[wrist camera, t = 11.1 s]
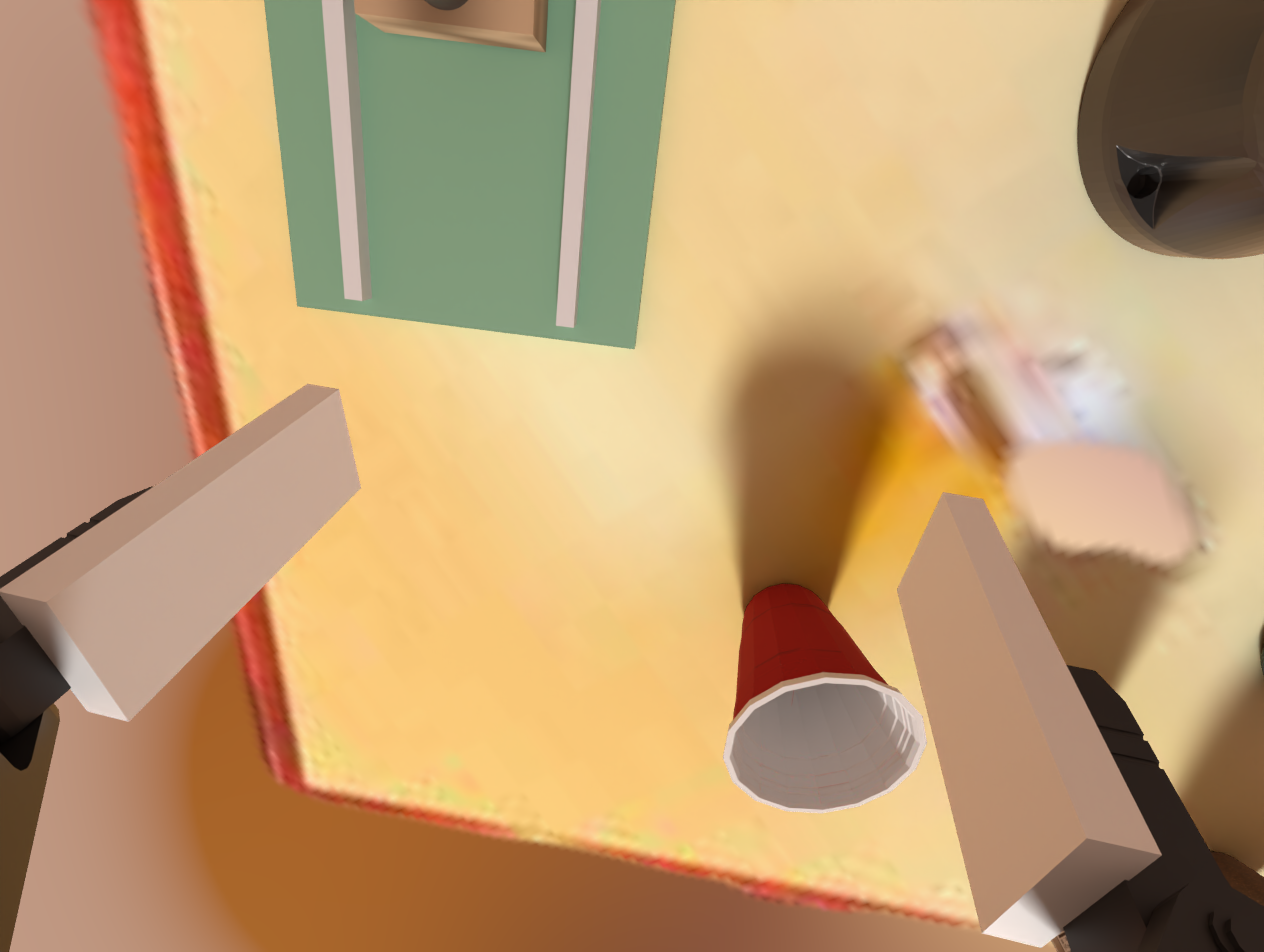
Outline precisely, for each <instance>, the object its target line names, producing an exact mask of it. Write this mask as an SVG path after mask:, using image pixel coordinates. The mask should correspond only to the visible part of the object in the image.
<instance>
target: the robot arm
mask: <svg viewBox="0 0 1264 952" xmlns="http://www.w3.org/2000/svg"><path fill="white" fill-rule="evenodd" d="M1078 155H1079V164H1080V170H1081V175H1082V178H1083V182H1084V185H1085V188H1086V191H1087V194H1088V196H1089V198H1090V200H1091V202H1092V204H1093V206H1094V207H1095V209H1096V211H1097V212H1098V214H1099V215H1100V216H1101V218H1102V219H1103V220H1104V221H1105V223H1106V224H1107V225H1108V226H1109V227H1110V228H1111V229H1112V230H1113V231H1114V232H1116V233H1117V234H1118V235H1119V236H1121V237H1122V238H1123V239H1125V240H1127V241H1128V242H1130V243H1132V244H1133V245H1136V246H1138V247H1140V248H1142V249H1145V250H1148V251H1150V252H1154V253H1158V254H1162V255H1168V256H1176V257H1189V258H1204V259H1229V258H1240V257H1247V256H1254V255H1259V254H1264V0H1129V2H1128V3H1127V5H1126V6H1125V8H1124V9H1123V10H1122V12H1121V13H1120V15H1119V16H1118V18H1117V20H1116V21H1115V23H1114V25H1113V26H1112V28H1111V30H1110V31H1109V33H1108V35H1107V37H1106V39H1105V41H1104V43H1103V45H1102V47H1101V49H1100V51H1099V53H1098V56H1097V58H1096V60H1095V63H1094V65H1093V68H1092V70H1091V73H1090V76H1089V79H1088V82H1087V85H1086V89H1085V93H1084V97H1083V101H1082V106H1081V111H1080V118H1079V127H1078ZM360 488H361V486H360V482H359V477H358V473H357V468H356V464H355V459H354V455H353V450H352V446H351V441H350V437H349V432H348V428H347V423H346V419H345V414H344V410H343V405H342V401H341V396H340V392H339V389H335V388H329V387H323V386H317V385H311V384H307V385H305V386H304V387H302V388H301V389H299V390H298V391H296V392H295V393H293V394H292V395H290V396H289V397H287V398H286V399H284V400H283V401H281V402H280V403H278V404H277V405H275V406H274V407H272V408H271V409H269V410H268V411H266V412H265V413H263V414H262V415H260V416H259V417H257V418H256V419H254V420H253V421H251V422H250V423H248V424H247V425H245V426H244V427H242V428H241V429H239V430H238V431H236V432H235V433H233V434H232V435H230V436H229V437H227V438H226V439H224V440H223V441H221V442H220V443H218V444H217V445H215V446H214V447H212V448H211V449H209V450H208V451H206V452H205V453H203V454H202V455H200V456H199V457H197V458H196V459H194V460H193V461H191V462H190V463H188V464H187V465H185V466H184V467H182V468H181V469H179V470H178V471H176V472H175V473H174V474H172V475H170V476H169V477H167V478H166V479H165V480H163V481H161V482H160V483H158V484H157V485H155V486H154V487H149V488H147V489H144V490H142V491H139V492H137V493H134V494H132V495H130V496H127V497H125V498H122V499H120V500H118V501H116V502H115V503H113V504H111V505H110V506H108V507H107V508H105V509H104V510H102V511H101V512H99V513H98V514H96V515H95V516H93V517H91V518H90V522H89V523H86V522H84V523H82V524H81V525H79V526H78V527H76V528H75V529H73V530H72V531H70V532H68V533H67V537H66V538H59V539H58V540H56V541H55V542H53V543H52V544H50V545H49V546H47V547H45V548H44V549H42V550H41V551H39V552H38V553H36V554H35V555H33V556H32V557H30V558H29V559H27V560H25V561H24V562H22V563H21V564H19V565H18V566H16V567H15V568H13V569H12V570H10V571H9V572H7V573H6V574H4V575H2V576H1V577H0V952H9V949H10V945H11V940H12V936H13V931H14V927H15V922H16V918H17V913H18V909H19V904H20V899H21V895H22V890H23V886H24V881H25V877H26V872H27V868H28V863H29V859H30V854H31V849H32V845H33V840H34V836H35V831H36V827H37V822H38V817H39V813H40V808H41V803H42V799H43V794H44V790H45V785H46V781H47V777H48V771H49V767H50V763H51V758H52V754H53V749H54V745H55V739H56V735H57V731H58V726H59V722H60V718H59V710H58V709H57V707H56V706H55V705H54V702H55V701H56V700H57V699H59V698H60V697H61V696H62V695H63V694H64V693H66V692H67V691H68V690H69V689H71V690H72V692H73V693H74V694H75V696H76V697H77V698H78V700H79V701H80V703H81V704H82V705H83V707H84V708H85V709H86V710H87V711H88V712H92V713H96V714H100V715H104V716H108V717H112V718H116V719H120V720H124V721H128V722H129V721H130V720H131V719H132V718H133V717H134V716H135V715H136V714H137V713H138V712H139V711H140V710H141V709H142V708H143V707H144V706H145V705H146V704H147V703H148V702H149V701H150V700H151V699H152V698H153V697H154V696H155V695H156V694H157V693H158V692H159V691H160V690H161V689H162V688H163V687H164V686H165V685H166V684H167V683H168V682H169V681H170V680H171V679H172V678H173V677H174V676H175V675H176V673H178V672H179V671H180V670H181V669H182V668H183V667H184V666H185V665H186V664H187V663H188V662H189V661H190V660H191V659H192V658H193V657H194V655H196V654H197V653H198V652H199V651H200V650H201V649H202V648H203V647H204V646H205V645H206V644H207V643H208V642H209V640H210V639H211V638H212V637H213V636H214V635H215V634H216V633H217V632H218V631H219V630H220V629H221V628H222V627H223V626H224V625H225V624H226V623H227V622H228V621H229V620H230V619H231V618H232V617H233V616H234V615H235V614H236V613H237V612H238V611H239V610H240V609H241V608H242V607H243V606H244V605H245V604H246V603H247V602H248V601H249V600H250V599H251V598H252V597H253V596H254V595H255V594H256V593H257V592H258V591H259V590H260V589H261V588H262V587H263V586H264V585H265V584H266V583H267V582H268V581H269V580H270V579H271V578H272V577H273V576H274V575H275V574H276V573H277V572H278V571H279V570H280V569H281V568H282V567H283V566H284V565H285V564H286V563H287V562H288V561H289V560H290V559H291V558H292V557H293V556H294V555H295V554H296V553H297V552H298V551H299V550H300V549H301V548H302V547H303V546H304V545H305V544H306V543H307V542H308V541H309V540H310V539H311V538H312V537H313V536H314V535H315V534H316V533H317V532H318V531H319V530H320V529H321V528H322V527H323V526H324V525H325V524H326V523H327V522H328V521H329V520H330V519H331V518H332V517H333V516H334V515H335V514H336V513H337V512H338V511H339V509H340V508H341V507H342V506H343V505H344V504H345V503H346V502H347V501H348V500H349V499H350V498H351V497H352V496H353V495H354V494H355V493H356V492H357V491H358V490H359V489H360ZM897 592H898V596H899V600H900V604H901V608H902V612H903V616H904V620H905V624H906V628H907V632H908V636H909V640H910V644H911V648H912V652H913V656H914V660H915V665H916V669H917V673H918V677H919V681H920V685H921V689H922V693H923V697H924V701H925V705H926V709H927V713H928V717H929V721H930V725H931V729H932V733H933V737H934V741H935V745H936V749H937V753H938V758H939V762H940V766H941V770H942V774H943V778H944V782H945V786H946V790H947V794H948V798H949V802H950V806H951V810H952V814H953V818H954V822H955V826H956V830H957V834H958V838H959V842H960V846H961V850H962V855H963V859H964V863H965V867H966V871H967V875H968V879H969V883H970V887H971V891H972V895H973V899H974V903H975V907H976V911H977V915H978V919H979V923H980V927H981V931H982V933H984V934H988V935H992V936H996V937H1000V938H1004V939H1008V940H1012V941H1016V942H1020V943H1024V944H1028V945H1032V946H1036V947H1040V948H1042V947H1043V946H1044V945H1046V944H1047V943H1048V942H1049V941H1051V940H1052V939H1053V938H1055V937H1056V936H1057V935H1059V934H1060V933H1061V932H1062V931H1064V932H1065V935H1066V938H1067V941H1068V944H1069V947H1070V950H1071V952H1264V906H1262V905H1261V904H1259V903H1257V902H1256V901H1254V900H1252V899H1251V898H1249V897H1247V896H1246V895H1244V894H1242V893H1241V892H1239V891H1237V890H1236V889H1233V888H1232V887H1231V886H1230V884H1229V883H1228V881H1227V880H1226V878H1225V877H1224V875H1223V873H1222V872H1221V870H1220V868H1219V866H1218V865H1217V863H1216V861H1215V859H1214V857H1213V856H1212V854H1211V852H1210V850H1209V849H1208V847H1207V845H1206V843H1205V842H1204V840H1203V838H1202V836H1201V835H1200V833H1199V831H1198V829H1197V828H1196V826H1195V824H1194V822H1193V820H1192V819H1191V817H1190V815H1189V813H1188V812H1187V810H1186V808H1185V806H1184V805H1183V803H1182V801H1181V799H1180V798H1179V796H1178V794H1177V792H1176V791H1175V789H1174V787H1173V785H1172V783H1171V782H1170V780H1169V778H1168V776H1167V775H1166V773H1165V771H1164V769H1160V768H1159V761H1158V759H1157V757H1156V755H1155V754H1154V752H1153V750H1152V748H1151V746H1150V745H1149V743H1148V741H1144V740H1143V735H1144V734H1143V732H1142V731H1141V729H1140V727H1139V725H1138V724H1137V722H1136V720H1135V718H1134V717H1133V715H1132V713H1131V711H1130V709H1129V708H1128V706H1127V704H1126V702H1125V701H1124V700H1123V699H1122V698H1121V697H1120V696H1119V695H1118V694H1117V693H1116V692H1115V691H1114V690H1113V689H1112V688H1111V687H1110V686H1109V685H1108V684H1107V683H1106V681H1105V680H1104V679H1103V678H1102V677H1101V676H1100V675H1099V674H1098V673H1097V672H1096V671H1093V670H1088V669H1083V668H1078V667H1073V666H1068V665H1066V663H1065V661H1064V659H1063V657H1062V655H1061V653H1060V651H1059V649H1058V647H1057V645H1056V643H1055V641H1054V640H1053V638H1052V636H1051V634H1050V632H1049V630H1048V628H1047V626H1046V624H1045V622H1044V620H1043V618H1042V616H1041V614H1040V612H1039V610H1038V608H1037V606H1036V604H1035V602H1034V600H1033V598H1032V596H1031V594H1030V592H1029V590H1028V588H1027V586H1026V584H1025V582H1024V580H1023V578H1022V576H1021V574H1020V572H1019V570H1018V568H1017V566H1016V564H1015V562H1014V560H1013V558H1012V556H1011V554H1010V552H1009V550H1008V548H1007V546H1006V544H1005V542H1004V540H1003V538H1002V536H1001V534H1000V532H999V530H998V528H997V526H996V524H995V522H994V520H993V518H992V516H991V514H990V512H989V510H988V508H987V506H986V504H985V502H984V500H983V499H979V498H973V497H968V496H962V495H956V494H950V493H944V492H943V494H942V496H941V498H940V500H939V502H938V504H937V506H936V508H935V510H934V512H933V515H932V517H931V519H930V521H929V523H928V525H927V527H926V529H925V531H924V534H923V536H922V538H921V540H920V542H919V544H918V546H917V548H916V550H915V553H914V555H913V557H912V559H911V561H910V563H909V565H908V567H907V569H906V572H905V574H904V576H903V578H902V580H901V582H900V584H899V586H898V588H897Z"/></svg>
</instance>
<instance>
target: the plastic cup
mask: <svg viewBox="0 0 1264 952" xmlns="http://www.w3.org/2000/svg"><path fill="white" fill-rule="evenodd" d="M926 744H927V740H926V734H925V728H924V722H923V716H922V715H921V714H920V713H919V712H918V711H917V710H916V709H915V708H914V707H913V706H912V705H911V703H910V702H909V701H908V700H907V699H906V698H905V697H904V696H903V695H902V694H901V693H900V692H899V691H898V689H897V688H894V687H892V686H889V685H888V684H887V683H886V682H885V680H884V679H883V678H882V677H881V676H880V675H879V674H878V673H877V672H876V670H875V669H874V668H873V667H872V665H871V664H870V663H869V661H868V660H867V659H866V657H865V656H864V655H863V653H862V652H861V650H860V649H859V648H858V646H857V645H856V644H855V642H854V641H853V640H852V638H851V637H850V636H849V634H848V633H847V632H846V630H845V629H844V627H843V626H842V625H841V624H840V623H839V622H838V621H837V620H836V618H835V617H834V616H833V615H832V613H831V612H830V611H829V609H828V608H827V606H826V605H825V604H824V603H823V602H822V601H821V599H820V598H819V597H818V596H817V595H816V594H814V593H813V592H812V591H811V590H808V589H806V588H804V587H802V586H800V585H794V584H779V585H775V586H771V587H767V588H765V589H764V590H762V591H761V592H759V593H758V594H756V595H755V596H754V597H753V598H752V600H751V601H750V603H749V604H748V605H747V607H746V611H745V613H744V619H743V624H742V638H741V644H740V650H739V662H738V677H737V692H736V703H735V708H734V716H733V721H732V722H731V723H730V724H729V729H728V734H727V739H726V744H725V749H724V755H723V759H724V762H725V764H726V767H727V769H728V772H729V774H730V777H731V779H732V782H733V783H735V784H736V785H737V786H738V787H739V788H741V789H742V790H743V791H744V792H745V793H747V794H748V795H749V796H750V797H751V798H753V799H754V800H755V801H758V802H761V803H764V804H767V805H770V806H773V807H775V808H778V809H781V810H784V811H792V812H809V813H826V812H832V811H837V810H842V809H848V808H853V807H858V806H861V805H863V804H865V803H867V802H869V801H872V800H874V799H876V798H878V797H880V796H882V795H884V794H887V793H889V792H891V791H892V790H893V789H895V788H896V787H897V786H898V785H899V784H900V783H901V782H902V781H903V780H904V779H905V778H907V777H908V776H909V775H910V774H911V773H912V772H913V771H914V770H915V769H916V767H917V765H918V763H919V760H920V758H921V756H922V753H923V751H924V749H925V746H926Z"/></svg>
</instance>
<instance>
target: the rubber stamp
mask: <svg viewBox="0 0 1264 952" xmlns="http://www.w3.org/2000/svg"><path fill="white" fill-rule="evenodd" d="M354 7H355V13H356V14H357V15H359V16H360V17H362V18H363V19H365V20H366V21H368V22H369V23H371V24H372V25H374V26H375V27H377V28H378V29H380V30H382V31H383V32H385V33H393V34H401V35H409V36H417V37H425V38H433V39H441V40H449V41H457V42H465V43H473V44H481V45H490V46H498V47H506V48H514V49H522V50H530V51H538V52H546V38H547V17H548V0H354Z"/></svg>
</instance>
